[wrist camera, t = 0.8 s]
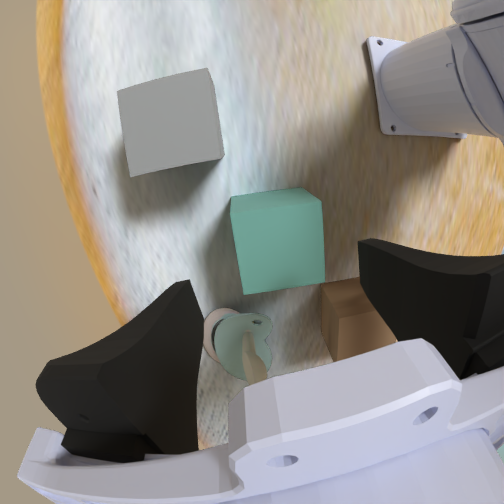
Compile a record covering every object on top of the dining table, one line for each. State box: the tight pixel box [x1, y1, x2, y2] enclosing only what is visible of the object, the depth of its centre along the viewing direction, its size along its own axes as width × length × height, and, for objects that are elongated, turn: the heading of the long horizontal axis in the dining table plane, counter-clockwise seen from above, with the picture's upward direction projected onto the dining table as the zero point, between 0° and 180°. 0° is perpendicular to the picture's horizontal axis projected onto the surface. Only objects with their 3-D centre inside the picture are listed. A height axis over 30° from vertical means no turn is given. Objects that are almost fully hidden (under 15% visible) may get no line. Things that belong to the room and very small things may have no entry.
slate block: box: [117, 68, 225, 177], centre depth 15 cm, size 5×5×5 cm
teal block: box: [230, 187, 325, 295], centre depth 18 cm, size 5×5×5 cm
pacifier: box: [203, 308, 273, 385], centre depth 21 cm, size 7×6×6 cm
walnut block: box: [321, 277, 396, 362], centre depth 21 cm, size 5×5×5 cm
